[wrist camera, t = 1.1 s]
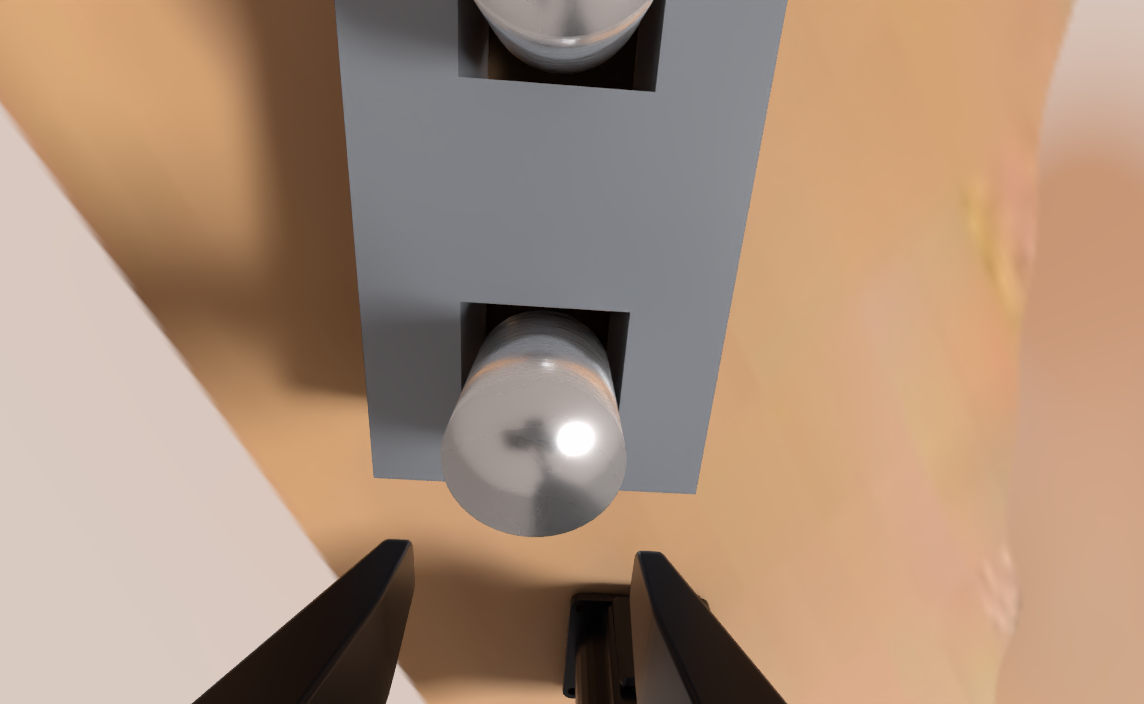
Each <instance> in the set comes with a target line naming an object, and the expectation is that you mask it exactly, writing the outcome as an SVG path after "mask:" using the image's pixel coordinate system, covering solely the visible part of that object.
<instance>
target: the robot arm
mask: <svg viewBox="0 0 1144 704" xmlns="http://www.w3.org/2000/svg"><path fill="white" fill-rule="evenodd" d="M414 585H415V575H414V556H413V545H412V543H411V542H410V541H409V540H398V539H387V540H385V541H383V542H381V543H380V544H379V545H378V546H377V547H376V548H374V549H373V550H372V551H371V552H370V553H369V554H367V555H366V556H365V557H364V558H363V559H361V560H360V561H359V562H358V563H357V564H356V565H354V566H353V567H352V568H351V569H350V570H349V571H347V572H346V573H345V574H344V575H343V576H341V577H340V578H339V579H338V580H337V581H336V582H334V583H333V584H332V585H331V586H330V587H329V588H328V589H326V590H325V591H324V592H323V593H321V594H320V595H319V596H318V597H317V598H316V599H314V600H313V601H312V602H311V603H310V604H309V605H307V606H306V607H305V608H304V609H303V610H301V611H300V612H299V613H298V614H297V615H296V616H294V618H292V619H291V620H290V621H288V622H287V623H286V624H285V625H284V626H283V627H281V628H280V629H279V630H278V631H277V632H276V633H274V634H273V635H272V636H271V637H270V638H268V639H267V640H266V641H265V642H264V643H263V644H261V645H260V646H259V647H258V648H257V649H256V650H255V651H253V652H252V653H251V654H250V655H248V656H247V657H246V658H245V659H244V660H243V661H241V662H240V663H239V664H238V665H237V666H236V667H234V668H233V669H232V670H231V671H230V672H229V673H227V674H226V675H225V676H224V677H223V678H221V679H220V680H219V681H218V682H217V683H216V684H214V685H213V686H212V687H211V688H210V689H208V690H207V691H206V692H205V693H204V694H203V695H201V697H199V698H198V699H197V700H195V701H194V702H193V703H192V704H386V701H387V698H388V695H389V691H390V688H391V684H392V680H393V676H394V672H395V668H396V664H397V660H398V655H399V651H400V647H401V643H402V639H403V635H404V630H405V626H406V622H407V618H408V614H409V610H410V605H411V601H412V597H413V592H414ZM579 604H583V605H579ZM563 694H564V695H565V696H566V697H568V698H575V699H576V704H787V703H786V702H785V700H784V699H783V698H782V697H781V696H780V694H779V693H778V692H777V691H776V690H775V688H774V687H773V686H772V685H771V684H770V682H769V681H768V680H767V679H766V678H765V676H764V675H763V674H762V673H761V671H760V670H759V669H758V668H757V667H756V665H755V664H754V663H753V662H752V661H751V659H750V658H749V657H748V656H747V655H746V653H745V652H744V651H743V650H742V649H741V647H740V646H739V645H738V644H737V643H736V641H735V640H734V639H733V638H732V636H731V635H730V634H729V633H728V632H727V630H726V629H725V628H724V627H723V626H722V624H721V623H720V622H719V621H718V620H717V618H716V617H715V616H714V615H713V614H712V612H711V611H710V608H709V604H708V603H707V601H706V600H704V599H701V598H699V597H698V595H697V594H696V593H695V592H694V591H693V589H692V588H691V587H690V586H689V585H688V583H687V582H686V581H685V580H684V579H683V577H682V576H681V575H680V574H679V573H678V571H677V570H676V569H675V568H674V566H673V565H672V564H671V563H670V562H669V560H668V559H667V558H666V557H665V556H664V555H663V554H662V553H661V552H654V551H639V552H637V553H636V555H635V559H634V566H633V573H632V580H631V587H630V595H613V594H590V593H578V594H575V595H574V596H573V597H572V598H571V600H570V609H569V620H568V631H567V642H566V654H565V665H564V676H563Z"/></svg>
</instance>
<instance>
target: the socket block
mask: <svg viewBox="0 0 1144 704" xmlns="http://www.w3.org/2000/svg"><path fill="white" fill-rule="evenodd" d="M334 1H335V13H336V25H337V37H338V49H339V62H340V74H341V86H342V98H343V110H344V122H345V134H346V147H347V159H348V171H349V183H350V195H351V207H352V220H353V232H354V244H355V256H356V268H357V280H358V292H359V305H360V317H361V329H362V341H363V353H364V365H365V378H366V390H367V402H368V414H369V426H370V438H371V450H372V463H373V475H374V478H387V479H406V480H426V481H445V479H444V476H443V472H442V468H441V459H440V455H441V444H442V440H443V436H444V433H445V430H446V428H447V425H448V423H449V421H450V418H451V416H452V413H453V411H454V409H455V406H456V404H457V402H458V399H459V397H460V395H461V392H462V390H463V387H464V385H465V383H466V380H467V378H468V376H469V373H470V371H471V369H472V366H473V364H474V361H475V359H476V357H477V354H478V352H479V350H480V347H481V345H482V344H483V342H484V340H485V338H486V303H490V304H506V305H522V306H538V307H553V308H569V309H585V310H601V311H610V321H609V331H608V341H607V351H606V354H607V357H608V361H609V366H610V371H611V376H612V381H613V386H614V392H615V397H616V402H617V407H618V412H619V417H620V422H621V427H622V432H623V437H624V442H625V448H626V470H625V475H624V479H623V482H622V484H621V487H620V489H619V490H622V491H642V492H662V493H681V494H696V489H697V484H698V478H699V473H700V467H701V462H702V457H703V451H704V446H705V441H706V435H707V430H708V424H709V419H710V414H711V408H712V403H713V398H714V392H715V387H716V382H717V376H718V371H719V365H720V360H721V355H722V349H723V344H724V339H725V333H726V328H727V322H728V317H729V312H730V306H731V301H732V296H733V290H734V285H735V280H736V274H737V269H738V263H739V258H740V253H741V247H742V242H743V237H744V231H745V226H746V220H747V215H748V210H749V204H750V199H751V194H752V188H753V183H754V178H755V172H756V167H757V161H758V156H759V151H760V145H761V140H762V135H763V129H764V124H765V119H766V113H767V108H768V102H769V97H770V92H771V86H772V81H773V76H774V70H775V65H776V59H777V54H778V49H779V43H780V38H781V33H782V27H783V22H784V17H785V11H786V6H787V0H653V2H652V3H651V5H650V7H649V8H648V10H647V11H646V13H645V15H644V16H643V18H642V20H641V21H640V23H639V30H638V40H637V50H636V60H635V70H634V80H633V90H621V89H609V88H596V87H583V86H570V85H557V84H545V83H532V82H519V81H506V80H493V79H488V47H489V23H488V22H487V20H486V19H485V17H484V15H483V14H482V12H481V11H480V9H479V8H478V6H477V4H476V3H475V1H474V0H334Z"/></svg>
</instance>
